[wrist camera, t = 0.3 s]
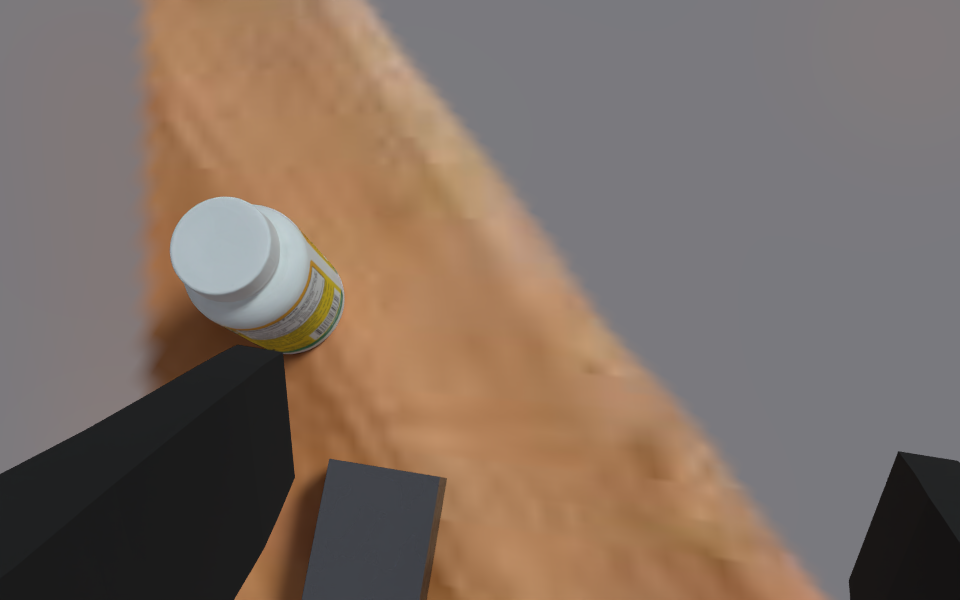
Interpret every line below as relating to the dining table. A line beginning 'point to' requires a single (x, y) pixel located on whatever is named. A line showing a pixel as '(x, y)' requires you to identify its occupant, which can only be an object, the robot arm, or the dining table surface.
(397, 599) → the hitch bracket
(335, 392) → the dining table surface
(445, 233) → the dining table surface
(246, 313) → the supplement bottle
